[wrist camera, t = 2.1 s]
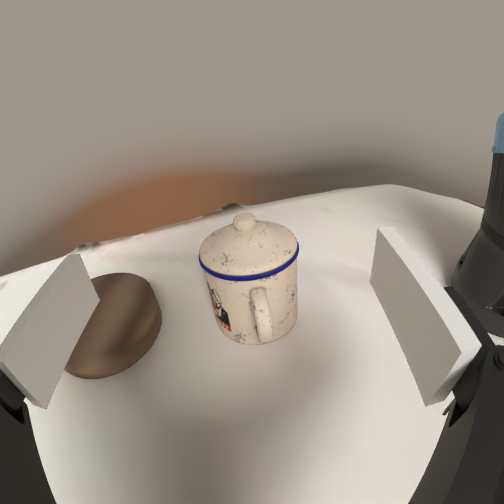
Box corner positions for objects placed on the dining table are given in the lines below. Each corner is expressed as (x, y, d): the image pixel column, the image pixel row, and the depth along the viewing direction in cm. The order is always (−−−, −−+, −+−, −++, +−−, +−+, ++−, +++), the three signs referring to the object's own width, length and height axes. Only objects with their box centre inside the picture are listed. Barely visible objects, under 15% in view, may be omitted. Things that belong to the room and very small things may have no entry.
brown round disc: (173, 287, 36) (167, 268, 35) (143, 385, 24) (131, 366, 22) (83, 292, 37) (75, 276, 36) (38, 370, 24) (25, 353, 23)
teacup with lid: (213, 296, 34) (193, 206, 28) (288, 283, 35) (283, 191, 29) (220, 379, 24) (187, 276, 18) (319, 360, 25) (327, 252, 18)
